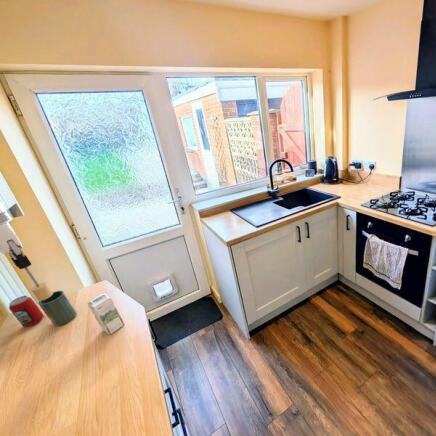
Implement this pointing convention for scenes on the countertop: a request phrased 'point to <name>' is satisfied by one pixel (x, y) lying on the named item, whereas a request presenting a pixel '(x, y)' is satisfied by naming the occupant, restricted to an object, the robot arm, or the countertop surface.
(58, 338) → the countertop surface
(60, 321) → the dark green mug
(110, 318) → the syrup box
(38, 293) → the bottle brush
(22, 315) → the beverage can
